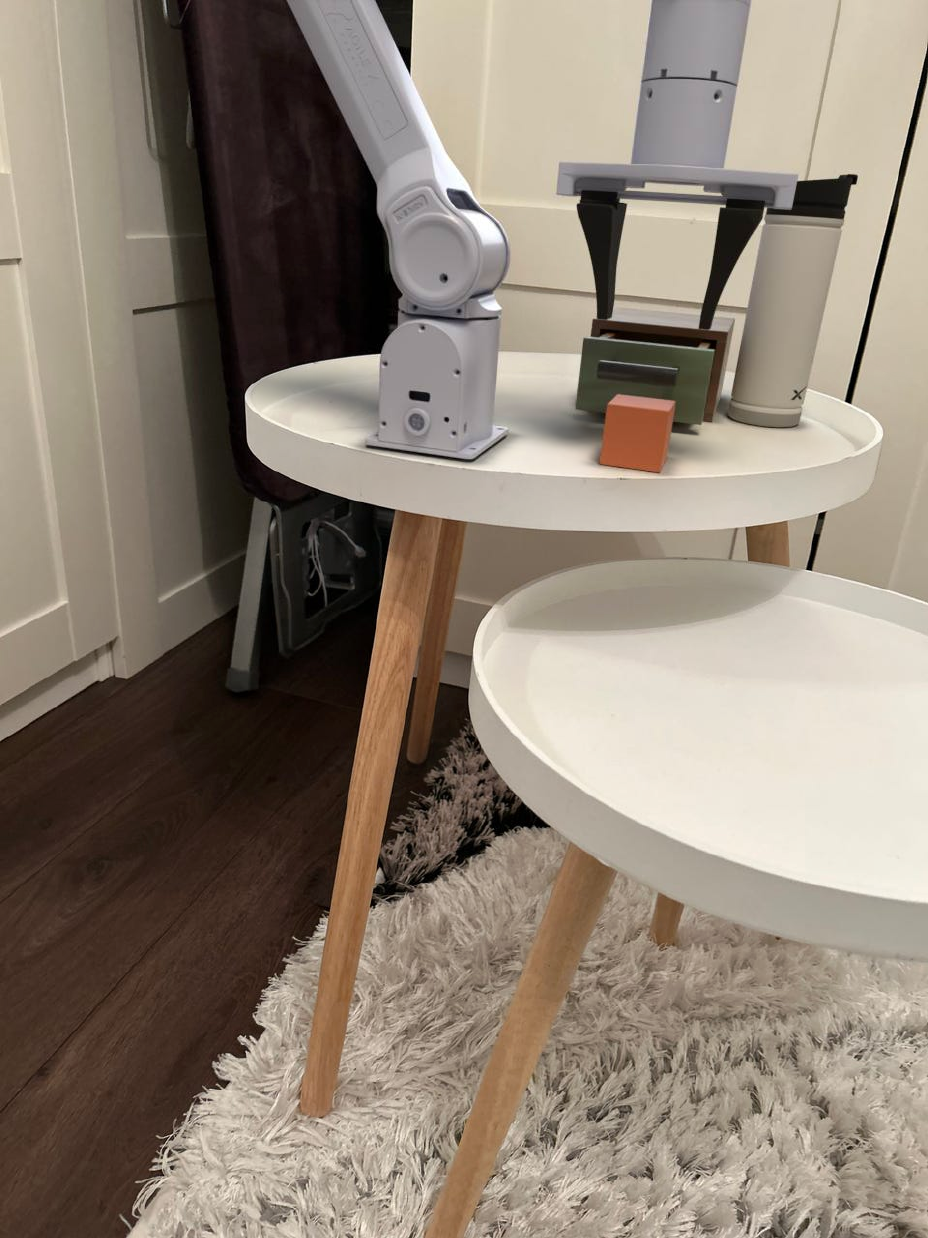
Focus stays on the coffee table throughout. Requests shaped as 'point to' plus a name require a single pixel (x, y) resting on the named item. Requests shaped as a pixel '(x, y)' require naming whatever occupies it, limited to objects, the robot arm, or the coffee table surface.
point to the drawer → (646, 371)
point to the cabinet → (681, 328)
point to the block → (637, 432)
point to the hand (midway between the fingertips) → (653, 323)
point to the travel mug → (788, 303)
